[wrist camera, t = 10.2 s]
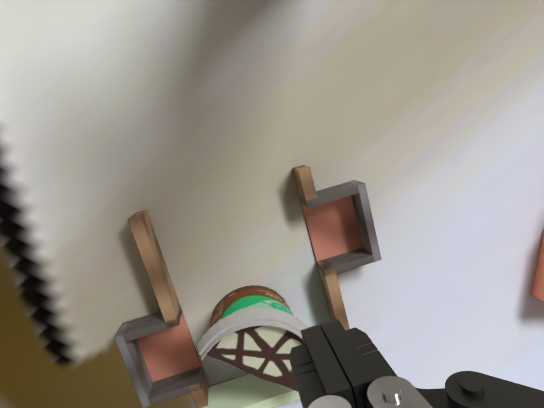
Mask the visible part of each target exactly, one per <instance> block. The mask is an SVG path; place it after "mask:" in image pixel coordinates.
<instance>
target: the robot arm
mask: <svg viewBox="0 0 544 408" xmlns="http://www.w3.org/2000/svg"><path fill="white" fill-rule="evenodd" d="M301 335H302V339H303V343H304V344H302V345H298V346H295V347H292V348H291V352H290V355H289V360H290V364H291V368H292V371H293V375H294V379H295V382H296V386H297V390H298V393H299V397H300V400H301V403H302V407H303V408H544V391H541V390H538V389H534V388H531V387H527V386H524V385H520V384H517V383H513V382H510V381H506V380H503V379H499V378H496V377H492V376H489V375H485V374H482V373H478V372H473V371H461V372H457V373H454V374H452V375H451V376H450V377H448V379H447V380H446V383H445V388H444V389H419V388H415V387H414V386H413V385H412V384H411V383H410V382H409V381H407V380H405V379H403V378H401V377H397V375H396V374H395V372H394V371H393V370H392V368H391V367H390V366H389V364H388V363H387V361H386V360H385V359H384V357H383V356H382V355H381V353H380V352H379V351H378V350H377V348H376V346H375V345H374V344H373V343H372V341H371V340H370V338H369V337H368V335H367V334H366V333H364V332H363V331H361V330H359V329H357V328H352V329H349V330H345V329H344V327H343V326H342V324H341V323H340V321H339V320H338V319H335V320H332V321H328V322H325V323H322V324H320V326H319V325H316V326H313V327H309V328H306V329H303V330H301Z"/></svg>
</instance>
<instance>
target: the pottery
mask: <svg viewBox="0 0 544 408" xmlns="http://www.w3.org/2000/svg"><path fill="white" fill-rule="evenodd" d="M531 296H533V297H535V298H537V299H539V300H541V301H543V302H544V232H543V237H542V242H541V247H540V252H539V257H538V262H537V268H536V273H535V278H534V283H533V288H532V293H531Z"/></svg>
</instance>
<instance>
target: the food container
mask: <svg viewBox="0 0 544 408" xmlns="http://www.w3.org/2000/svg"><path fill="white" fill-rule="evenodd" d="M306 328H308V327H307V326H306V325H305V324H304V323H303V322H302V321H300V320H299V319H298V318H296V317H294V315H293V314H292V312H291V310H290V309H289V307H288V305H287V304H286V302H285V300H284V299H283V298H282V297H281V296H280V295H279V294H278V293H277V292H275V291H273V290H272V289H269V288H267V287H263V286H245V287H242V288H239V289H236V290H234V291H232V292H231V293H229V294H227V295H226V296H225V297H224V298H223V299H222V300H221V301H220V302H219V303H218V304H217V306H216V307H215V309H214V312H213V315H212V319H211V323H210V326H209V330H208V331H207V332H206V333H205V334H204V335H203V336H202V338H201V339H200V341H199V342H198V344H197V346H198V351H199V354H200V355H201V360H203V358H204V357H205V355H206V354H207V355H209V356H211V357H214V358H217V359H220V360H223V361H225V362H227V363H230V364H232V365H234V366H236V367H238V368H240V369H242V370H244V371H246V372H248V373H250V374H252V375H254V376H256V377H258V378H260V379H263V380H266V381H269V382H273V383H276V384H279V385H282V386H285V387H288V388H290V389H292V390H295V391H297V392H298V390H297V386H296V382H295V379H294V375H293V371H292V368H291V364H290V360H289V355H290V352H291V348H292V347H295V346H298V345H302V344H304V343H303V339H302V335H301V330H303V329H306Z"/></svg>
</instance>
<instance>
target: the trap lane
mask: <svg viewBox="0 0 544 408" xmlns="http://www.w3.org/2000/svg"><path fill="white" fill-rule="evenodd" d="M293 172H294V175H295V179H296V183H297V187H298V191H299V195H300V199H301V203H302V207H303V211H304V214H305V218H306V222H307V226H308V230H309V234H310V238H311V242H312V246H313V250H314V253H315V257H316V261H317V265H318V269H319V273H320V277H321V281H322V285H323V288H324V292H325V296H326V300H327V304H328V308H329V312H330V316H331V320H335V319H338V320H339V321H340V323H341V324H342V326H343V327H344V329H345V330H349V329H350V328H349V324H348V320H347V316H346V312H345V308H344V304H343V300H342V296H341V292H340V288H339V284H338V280H337V276H336V274H337V273H340V272H344V271H347V270H350V269H353V268H356V267H359V266H363V265H366V264H369V263H372V262H375V261H378V260H381V255H380V251H379V246H378V241H377V237H376V232H375V227H374V223H373V218H372V213H371V209H370V204H369V200H368V195H367V190H366V186H365V183H362V182H359V181H355V180H354V181H350V182H347V183H343V184H340V185H337V186H333V187H330V188H326V189H323V190H320V191H316V190H315V186H314V182H313V178H312V174H311V170H310V167H308V166H304V165H302V166H298V167H295V168H293ZM128 222H129V225H130V227H131V230H132V233H133V236H134V238H135V241H136V244H137V247H138V249H139V252H140V255H141V257H142V260H143V263H144V266H145V268H146V271H147V274H148V277H149V279H150V282H151V285H152V288H153V290H154V293H155V296H156V298H157V301H158V304H159V307H160V309H161V311H160V312H157V313H154V314H150V315H147V316H144V317H141V318H137V319H134V320H131V321H128V322H125V323H122V325H121V327H120V329H119V331H118V333H117V334H116V336H115V340H116V343H117V345H118V348H119V350H120V353H121V355H122V358H123V360H124V362H125V365H126V367H127V370H128V372H129V375H130V377H131V380H132V382H133V385H134V387H135V389H136V392H137V395H138V397H139V400H140V402H141V405H142V407H143V408H145V407H149V406H152V405H154V404H157V403H161V402H164V401H167V400H169V399H173V398H175V397H178V396H182V395H185V394H188V393H191V394H192V397H193V399H194V402H195V405H196V408H274V407H277V406H280V405H283V404H286V403H289V402H292V401H294V400H297V399H300V397H299V393H298V392H297V391H295V390H292V389H290V388H288V387H285V386H282V385H279V384H276V383H273V382H269V381H266V380H263V379H260V378H258V377H256V376H254V375H252V374H247V375H244V376H241V377H238V378H235V379H232V380H229V381H226V382H223V383H220V384H217V385H214V386H211V387H209V386H208V383H207V380H206V378H205V375H204V372H203V369H202V366H201V363H200V361H199V358H198V355H197V352H196V349H195V346H194V344H193V341H192V338H191V335H190V332H189V329H188V326H187V324H186V321H185V318H184V315H183V312H182V309H181V307H180V304H179V301H178V298H177V295H176V292H175V290H174V287H173V284H172V281H171V278H170V275H169V273H168V270H167V267H166V264H165V261H164V258H163V256H162V253H161V250H160V247H159V244H158V241H157V239H156V236H155V233H154V230H153V227H152V224H151V222H150V219H149V216H148V213H147V210H145V211H141V212H138V213H135V214H134V215H132V216H131V217H130V218H129V219H128Z"/></svg>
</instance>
